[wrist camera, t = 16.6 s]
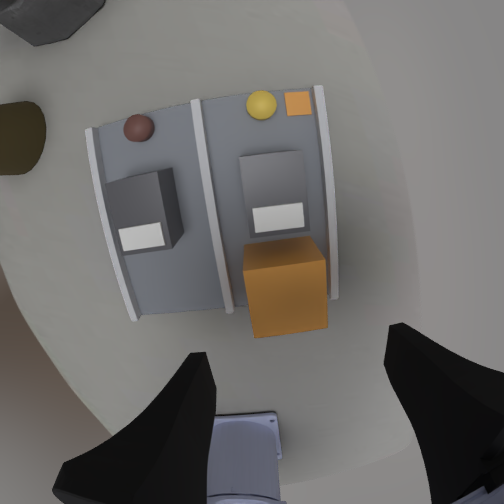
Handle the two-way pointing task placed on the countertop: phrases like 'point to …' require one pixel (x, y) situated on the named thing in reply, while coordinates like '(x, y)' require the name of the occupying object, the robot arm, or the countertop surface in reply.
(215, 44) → the countertop surface
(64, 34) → the coffeepot
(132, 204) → the toggle
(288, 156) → the toggle
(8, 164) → the cork
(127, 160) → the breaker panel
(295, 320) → the block
